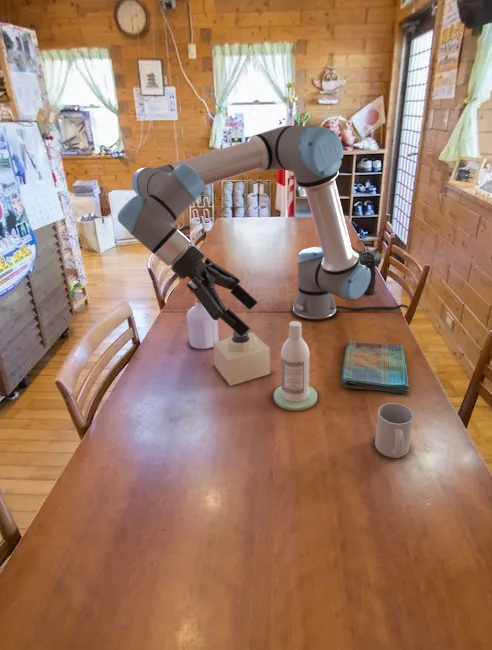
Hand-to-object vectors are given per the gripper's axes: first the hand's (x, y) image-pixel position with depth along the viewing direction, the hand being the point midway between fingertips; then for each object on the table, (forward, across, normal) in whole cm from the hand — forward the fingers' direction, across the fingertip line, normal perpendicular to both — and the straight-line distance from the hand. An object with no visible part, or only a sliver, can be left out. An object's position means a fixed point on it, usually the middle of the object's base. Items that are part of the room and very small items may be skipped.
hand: (249, 318), depth 106 cm
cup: (+38, +19, +8) cm, 43 cm away
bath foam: (+23, +1, -7) cm, 24 cm away
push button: (+6, -11, -12) cm, 18 cm away
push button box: (+13, -11, -19) cm, 25 cm away
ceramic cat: (+38, -74, +6) cm, 83 cm away
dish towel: (+38, -15, +8) cm, 42 cm away
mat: (+23, +1, -8) cm, 24 cm away
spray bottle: (+3, -27, -29) cm, 40 cm away
